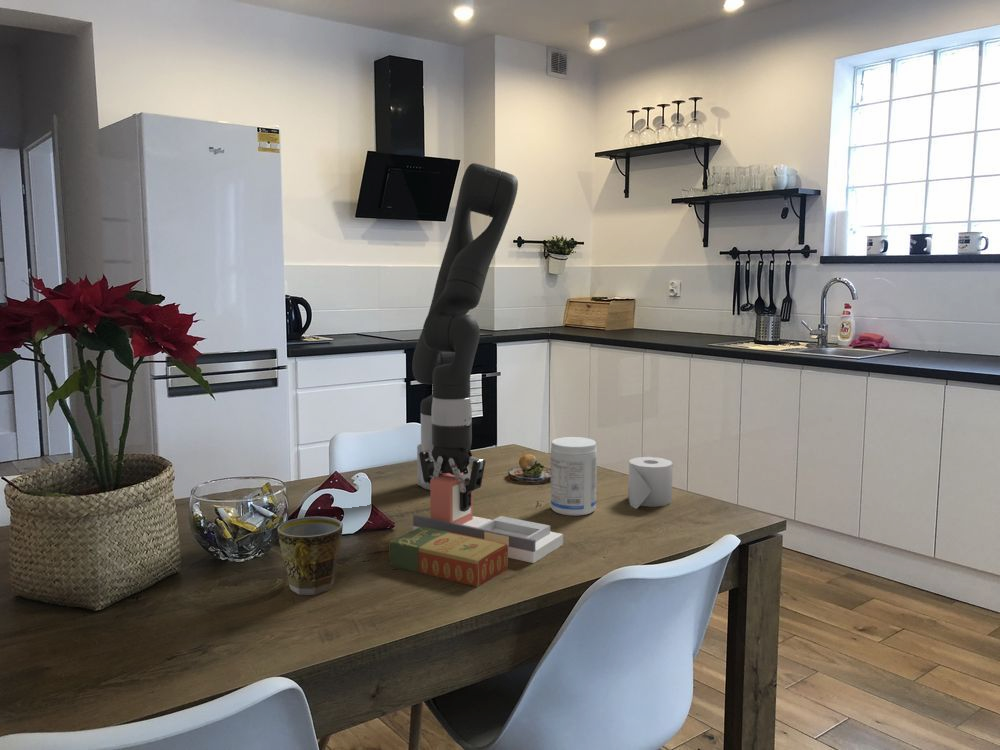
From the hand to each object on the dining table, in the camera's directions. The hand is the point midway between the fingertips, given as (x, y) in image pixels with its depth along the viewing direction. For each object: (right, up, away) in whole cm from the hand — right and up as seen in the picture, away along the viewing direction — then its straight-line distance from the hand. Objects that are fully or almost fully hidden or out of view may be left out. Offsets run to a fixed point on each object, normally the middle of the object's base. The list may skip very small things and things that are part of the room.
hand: (452, 507), depth 153 cm
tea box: (0, -3, 0) cm, 3 cm away
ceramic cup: (-21, -9, -27) cm, 35 cm away
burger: (+17, 0, +41) cm, 44 cm away
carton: (0, -8, -16) cm, 18 cm away
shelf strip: (+7, -5, -3) cm, 9 cm away
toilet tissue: (+41, -2, +21) cm, 46 cm away
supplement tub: (+24, -3, +15) cm, 29 cm away
